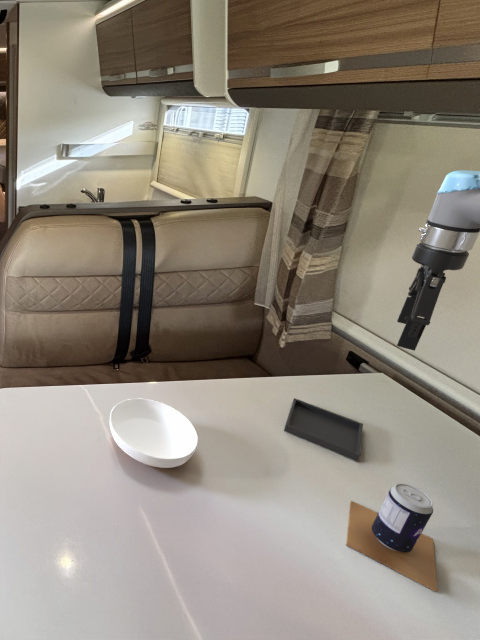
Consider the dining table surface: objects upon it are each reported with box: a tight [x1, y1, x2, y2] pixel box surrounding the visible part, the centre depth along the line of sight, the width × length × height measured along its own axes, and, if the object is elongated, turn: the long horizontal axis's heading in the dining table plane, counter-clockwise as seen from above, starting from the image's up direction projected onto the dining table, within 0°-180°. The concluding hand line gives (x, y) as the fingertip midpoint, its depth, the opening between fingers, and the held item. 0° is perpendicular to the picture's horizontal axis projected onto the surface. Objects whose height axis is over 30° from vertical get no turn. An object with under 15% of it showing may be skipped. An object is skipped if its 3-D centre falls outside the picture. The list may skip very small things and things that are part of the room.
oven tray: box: [283, 398, 364, 463], centre depth 107 cm, size 14×13×2 cm
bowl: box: [109, 397, 199, 469], centre depth 102 cm, size 20×20×6 cm
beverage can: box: [372, 483, 434, 552], centre depth 78 cm, size 6×6×12 cm
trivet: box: [345, 500, 439, 593], centre depth 81 cm, size 12×12×1 cm
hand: (405, 335), depth 96 cm, fingers open, 13 cm apart
